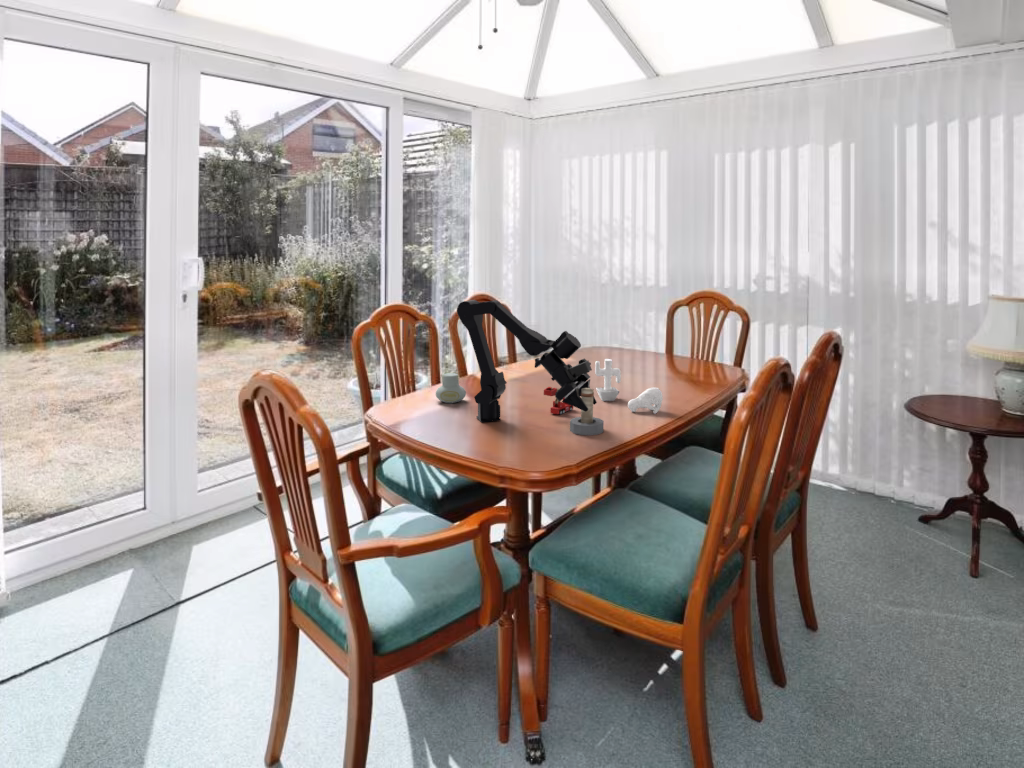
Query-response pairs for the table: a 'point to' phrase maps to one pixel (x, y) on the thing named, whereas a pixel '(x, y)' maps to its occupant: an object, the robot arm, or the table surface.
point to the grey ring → (586, 426)
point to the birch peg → (588, 400)
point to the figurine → (607, 380)
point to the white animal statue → (647, 400)
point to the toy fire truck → (557, 402)
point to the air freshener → (450, 389)
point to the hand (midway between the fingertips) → (591, 407)
